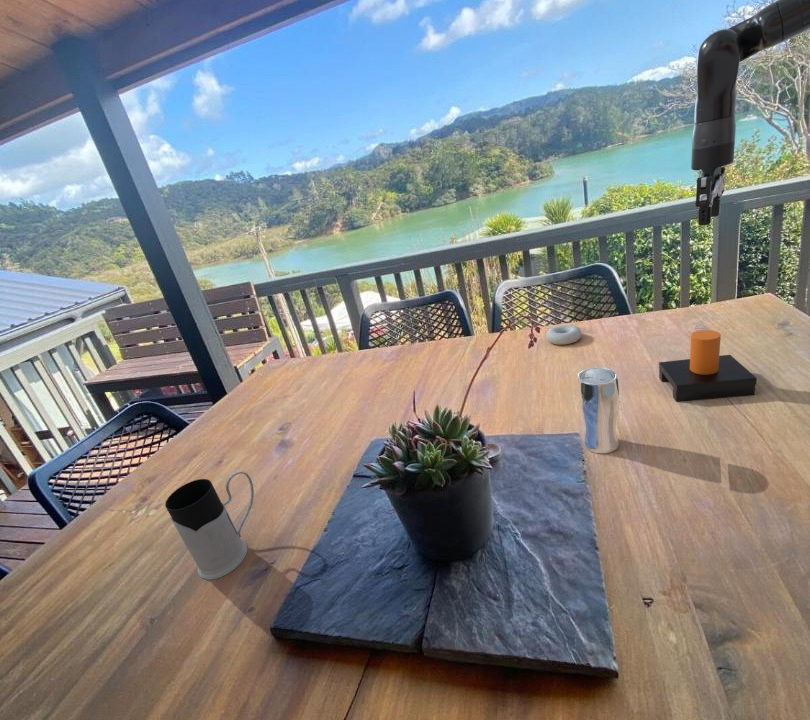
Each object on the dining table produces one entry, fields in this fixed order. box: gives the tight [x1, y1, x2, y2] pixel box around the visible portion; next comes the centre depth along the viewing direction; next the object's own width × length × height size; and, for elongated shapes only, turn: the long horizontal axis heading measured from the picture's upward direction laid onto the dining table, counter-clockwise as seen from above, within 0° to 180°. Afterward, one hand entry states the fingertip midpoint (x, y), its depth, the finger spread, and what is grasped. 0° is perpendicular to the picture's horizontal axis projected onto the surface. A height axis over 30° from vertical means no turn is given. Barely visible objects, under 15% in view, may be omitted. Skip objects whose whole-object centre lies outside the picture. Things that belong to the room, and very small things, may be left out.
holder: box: [164, 470, 255, 581], centre depth 77 cm, size 9×14×15 cm, turn 135°
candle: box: [689, 329, 722, 375], centre depth 90 cm, size 5×5×8 cm
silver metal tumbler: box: [577, 366, 621, 455], centre depth 81 cm, size 7×7×15 cm
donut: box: [545, 324, 582, 346], centre depth 129 cm, size 10×4×10 cm
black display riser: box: [658, 354, 758, 403], centre depth 92 cm, size 14×11×4 cm
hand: (708, 220), depth 99 cm, fingers open, 8 cm apart
